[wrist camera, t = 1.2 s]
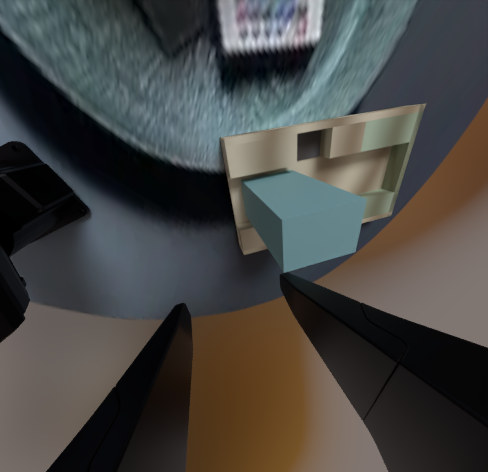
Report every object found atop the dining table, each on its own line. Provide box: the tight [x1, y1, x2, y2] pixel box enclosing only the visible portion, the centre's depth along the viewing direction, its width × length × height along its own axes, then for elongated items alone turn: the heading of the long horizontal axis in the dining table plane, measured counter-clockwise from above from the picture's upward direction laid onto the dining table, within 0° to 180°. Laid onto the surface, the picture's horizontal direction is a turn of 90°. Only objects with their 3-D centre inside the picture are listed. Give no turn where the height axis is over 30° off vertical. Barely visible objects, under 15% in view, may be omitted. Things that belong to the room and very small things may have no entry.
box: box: [220, 104, 426, 255], centre depth 20 cm, size 20×12×2 cm, turn 98°
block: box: [241, 170, 367, 273], centre depth 16 cm, size 6×4×10 cm
